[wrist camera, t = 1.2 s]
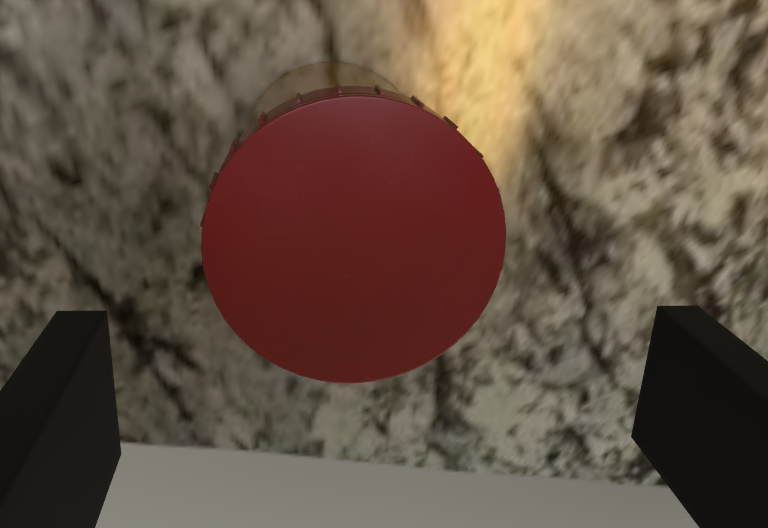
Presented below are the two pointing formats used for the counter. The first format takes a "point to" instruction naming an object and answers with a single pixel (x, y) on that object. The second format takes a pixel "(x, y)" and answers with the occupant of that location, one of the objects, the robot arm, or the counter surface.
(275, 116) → the jam lid
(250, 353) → the counter surface
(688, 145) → the counter surface
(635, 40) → the counter surface
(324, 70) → the jam jar
